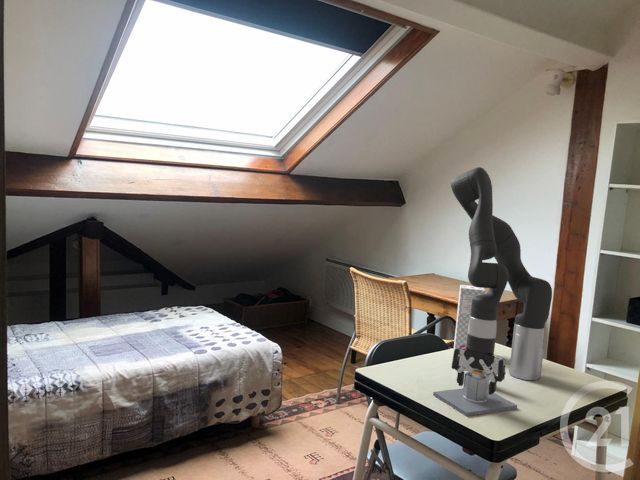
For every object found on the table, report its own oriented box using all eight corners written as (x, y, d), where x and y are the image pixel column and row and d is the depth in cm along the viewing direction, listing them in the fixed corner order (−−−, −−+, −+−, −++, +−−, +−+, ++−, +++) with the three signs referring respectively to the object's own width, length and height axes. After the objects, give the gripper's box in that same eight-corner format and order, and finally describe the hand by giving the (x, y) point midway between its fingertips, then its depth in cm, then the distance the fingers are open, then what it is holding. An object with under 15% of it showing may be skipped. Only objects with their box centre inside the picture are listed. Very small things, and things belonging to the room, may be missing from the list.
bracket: (458, 382, 159) (501, 388, 147) (455, 351, 159) (498, 355, 148) (465, 380, 161) (508, 386, 150) (463, 349, 162) (505, 353, 150)
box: (454, 354, 184) (461, 288, 181) (453, 347, 192) (460, 284, 190) (478, 357, 182) (485, 290, 180) (476, 351, 190) (483, 287, 188)
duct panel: (481, 389, 150) (484, 360, 149) (516, 408, 137) (520, 377, 137) (433, 395, 142) (436, 364, 142) (466, 416, 130) (469, 383, 129)
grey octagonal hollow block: (460, 396, 139) (462, 374, 138) (470, 388, 146) (472, 367, 145) (482, 402, 135) (484, 380, 135) (491, 394, 142) (493, 373, 141)
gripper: (452, 330, 139) (446, 386, 141) (504, 341, 131) (497, 401, 132) (461, 325, 145) (455, 379, 147) (511, 336, 137) (505, 393, 138)
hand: (475, 389), depth 139 cm, fingers open, 8 cm apart
